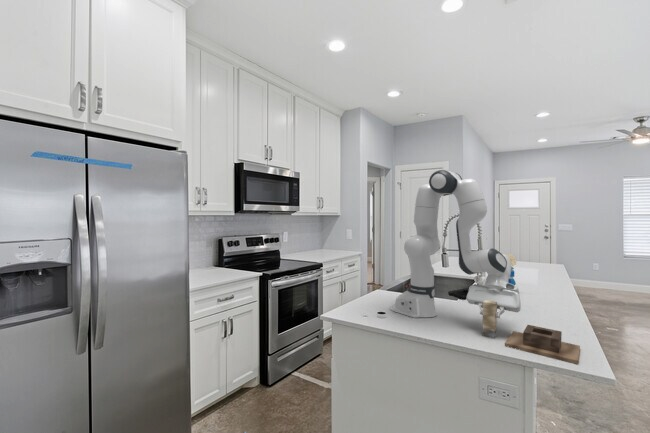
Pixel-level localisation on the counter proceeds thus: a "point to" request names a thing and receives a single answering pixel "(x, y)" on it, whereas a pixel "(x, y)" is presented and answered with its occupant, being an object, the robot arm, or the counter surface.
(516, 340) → the square hole base plate
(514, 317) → the counter surface
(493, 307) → the upright wooden square peg
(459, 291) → the door handle
